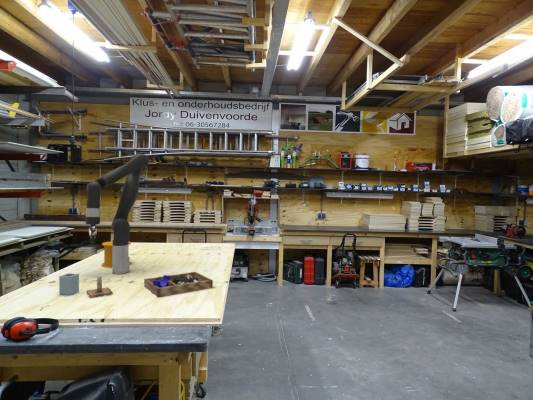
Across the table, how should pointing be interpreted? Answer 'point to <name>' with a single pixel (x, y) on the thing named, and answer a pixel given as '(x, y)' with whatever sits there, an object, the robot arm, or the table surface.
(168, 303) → the table surface
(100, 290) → the pin stand
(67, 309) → the table surface
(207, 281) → the frame
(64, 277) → the collar
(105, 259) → the spool
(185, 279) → the bicycle component
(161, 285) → the cable clip
